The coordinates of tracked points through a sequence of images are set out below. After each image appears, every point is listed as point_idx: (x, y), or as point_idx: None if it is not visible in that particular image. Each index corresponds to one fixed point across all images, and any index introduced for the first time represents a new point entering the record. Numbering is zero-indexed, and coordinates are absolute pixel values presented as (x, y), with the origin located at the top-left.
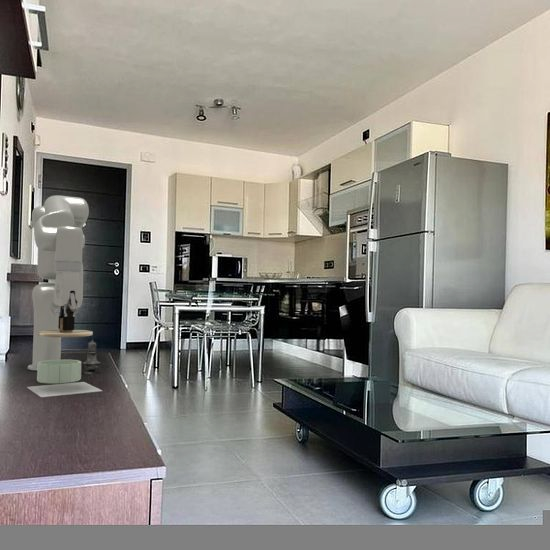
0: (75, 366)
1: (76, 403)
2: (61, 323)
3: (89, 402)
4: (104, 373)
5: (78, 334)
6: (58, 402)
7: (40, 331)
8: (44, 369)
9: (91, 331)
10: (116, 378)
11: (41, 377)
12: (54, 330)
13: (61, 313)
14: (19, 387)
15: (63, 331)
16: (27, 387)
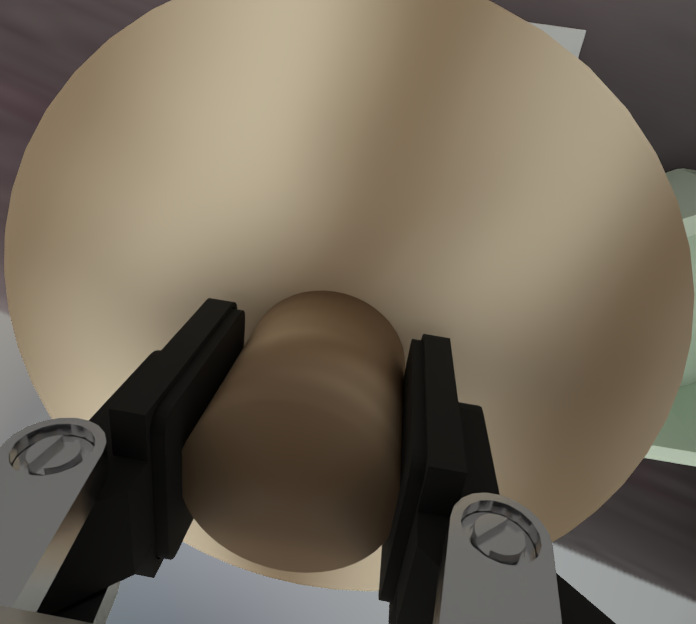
0: None
1: (6, 92)
2: (270, 352)
3: (5, 154)
4: (671, 543)
5: (24, 356)
6: (65, 23)
7: (594, 86)
8: (682, 204)
9: (265, 569)
10: None
11: (682, 181)
12: (610, 333)
13: (438, 551)
14: (655, 2)
15: (269, 313)
16: (564, 28)
